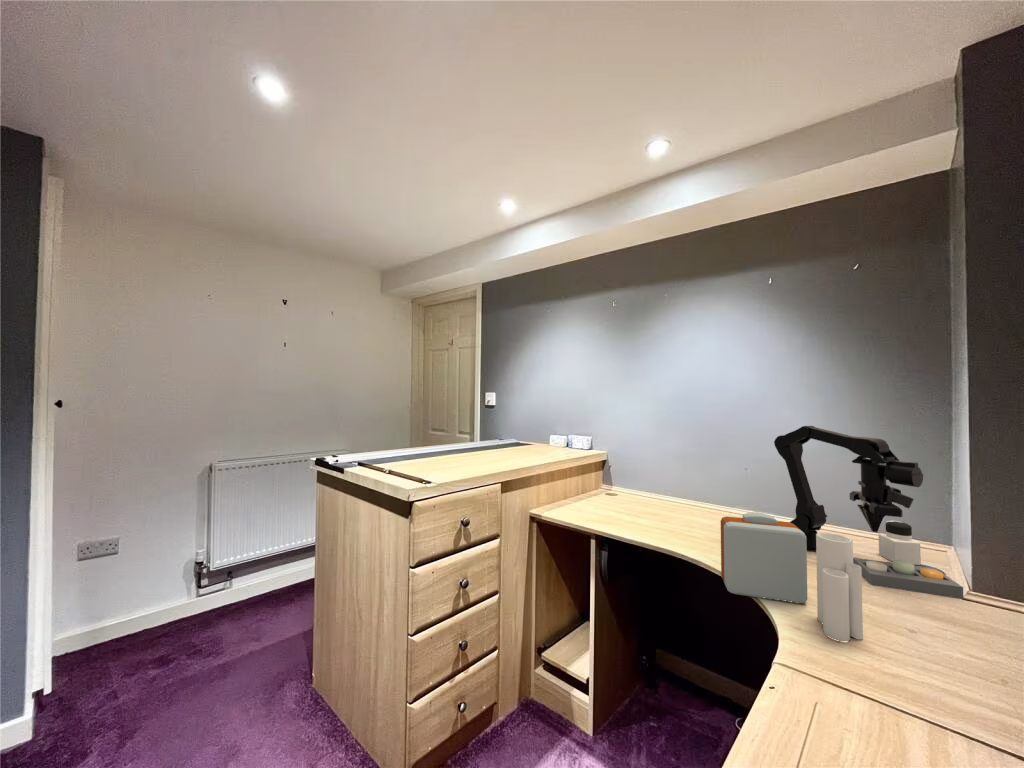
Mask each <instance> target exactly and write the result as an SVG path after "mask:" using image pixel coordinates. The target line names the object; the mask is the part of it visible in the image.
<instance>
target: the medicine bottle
mask: <svg viewBox="0 0 1024 768" xmlns="http://www.w3.org/2000/svg"><path fill="white" fill-rule="evenodd" d="M912 530H913V529H912V526H911V525H910V524H908V523H907V522H906V523H905V522H904V521H903V522H902V521H898V520H887V521H886V522H885V533H881V532H879V533H878V535H877V537H878V555H880V556H881V557H883V558H885V559H886V560H888V561H889V562H891V563H893V560H900V561H905V562H909V563H911V564H913V565H914V566H921V563H922V562H921V542H919V541H917V540H915V539H913V536H912V535H913V534H912V533H913V531H912Z"/></svg>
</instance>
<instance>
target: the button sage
mask: <svg viewBox="0 0 1024 768" xmlns="http://www.w3.org/2000/svg"><path fill="white" fill-rule="evenodd" d="M892 563H893V571H895V572H896V573H899V574H906V575H913V576H915V573H914V566H915V565H913V564H911V563H909V562H905V561H900V560H893V562H892Z"/></svg>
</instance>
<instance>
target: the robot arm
mask: <svg viewBox="0 0 1024 768" xmlns="http://www.w3.org/2000/svg"><path fill="white" fill-rule="evenodd" d="M810 440H815V441H819V442H823V443H827V444H830V445H833V446H837V447H840V448H841V447H842V448H844V449H847V450H849V451H850V452H851V453H853V454H855V455H858V456H857V457H856V458H854V459H853V460H851V462H852V463H853V464H857V465H858V464H859V465H860V480H858V482H857V483H858V485H859V486H860V491H859V490H858V491H857V490H852V491H851V492H850V493H849V500H850V501H852V502H856V501H860V504H856V505H857V507H858V508H859V511H860V512H861V514H862V516H863V518H864V519H865V521H866V523H867V525H868V526H869V529H870V530H871V532H873V533H878V532H879V529H880V527H881V524H882V522H883V519H884V518H885V517H896V518H903V516H904V515H903V509H901V507H900V506H903V507H904V508H906V509H910V508H911V506H912V504H913V502H914V498H913V497H911V496H908V495H906V494H903V493H902V491H901V489H898V488H895V487H893V486H892V487H891V486H890V485H889V484H887V481H889V483H890V484H896V485H900V486H901V485H902V486H908V487H914V488H919V487H921V486H922V484H923V481H924V474H923V472H922V469H921V467H919V463H918V462H914V461H913V462H912V461H910V462H909V461H908V462H907V461H900V459H899V458H898V457H897V456H896V455H895V453H893V451H892V450H891V449H890V445H889V444H888V443H887V442H886V440H884V439H882V438H879V437H878V438H877V437H867V436H866V437H865V436H852V435H848V434H844V433H840V432H836V431H832V430H828V429H824V428H820V427H816V426H813V425H803V426H801V427H799V428H797V429H795V430H793V431H790V432H788V433H786V434H784V435H778V436H777V437H775V439H774V441H773V442H774V443H773V444H774V446H775V448H776V451H777V453H778V455H780V457H781V458H782V459H783V460H784V462H785V465H786V469H787V471H788V474H789V479H790V481H791V485H792V488H793V492H794V494H795V498H796V505H795V510H794V511H795V518H794V519H792V520H791V521H789V522H790V523H792V524H794V525H795V526H797V527H798V528H799V529H800V530H801V531H802V532H803V533H804V534H805V536H806V544H807V551H810V552H811V551H812V552H816V534H817V533H818V531H821V529H822V527H823V526H824V525H825V524H826V523H827V517H828V515H827V513H826V511H825V507H824V505H823V504H818V502H816V500H815V499H814V495H813V493H812V489H811V485H810V482H809V479H808V476H807V474H806V473H807V472H806V470H805V467H804V464H803V463H804V462H803V460H802V457H803V453H804V448H803V445H804V444H806V443H808V442H809V441H810ZM894 503H895V504H894ZM896 504H897V505H899V506H897V505H896Z"/></svg>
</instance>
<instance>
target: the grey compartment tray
mask: <svg viewBox="0 0 1024 768" xmlns="http://www.w3.org/2000/svg"><path fill="white" fill-rule="evenodd" d="M866 561H876V562H880V563H883V564H885V565H886V566H887V572H885V571H878V570H871V569H868V568H867V567H866ZM853 564H856V565H859V566H861V569H862V578H863V579H864V580H865V581H866V582H867V583H868V584H870V585H872V586H878V587H884V588H890V589H898V590H905V591H911V592H916V593H921V594H929V595H936V596H944V597H950V598H956V599H964V586H962V585H961V584H959V583H957V582H956V581H955V580H953V579H952V578H950V576H947V575H946V574H944V573H943V580H941V579H934V578H927V577H924V576H923V575H921V574H920V568H929V569H933V570H937V571H940V570H939V569H937V568H936V567H935V568H934V567H928V566H927V567H925V566H921V565H914V573H915V576H913V575H906V574H899V573H896V572H895V571H893V562H892V561H882V560H876V559H875V560H874V559H868V558H867V559H866V558H860V557H853Z"/></svg>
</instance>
